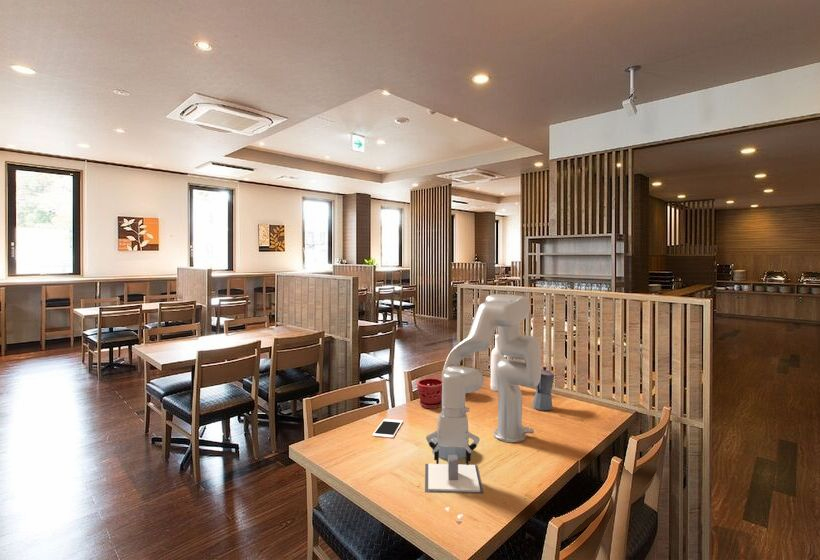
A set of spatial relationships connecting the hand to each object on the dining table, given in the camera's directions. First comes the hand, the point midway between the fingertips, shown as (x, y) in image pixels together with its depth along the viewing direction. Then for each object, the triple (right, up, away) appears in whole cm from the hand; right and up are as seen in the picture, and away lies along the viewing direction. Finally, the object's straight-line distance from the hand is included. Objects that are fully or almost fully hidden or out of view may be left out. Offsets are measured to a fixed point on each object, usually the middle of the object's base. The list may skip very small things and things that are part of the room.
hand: (452, 462), depth 141 cm
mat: (0, -6, +1) cm, 6 cm away
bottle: (+35, -1, +97) cm, 103 cm away
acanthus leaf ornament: (+1, -8, -17) cm, 19 cm away
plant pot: (-4, -2, +71) cm, 71 cm away
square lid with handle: (0, -5, +1) cm, 5 cm away
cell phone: (-23, -4, +43) cm, 49 cm away
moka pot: (+50, -3, +68) cm, 84 cm away
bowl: (+1, -5, +20) cm, 20 cm away
